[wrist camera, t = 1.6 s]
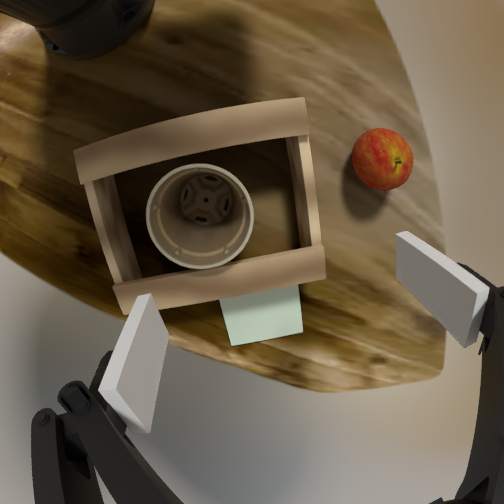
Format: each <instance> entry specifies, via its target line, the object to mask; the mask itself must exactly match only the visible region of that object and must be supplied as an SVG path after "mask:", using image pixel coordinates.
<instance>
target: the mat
mask: <svg viewBox="0 0 504 504" xmlns="http://www.w3.org/2000/svg"><path fill="white" fill-rule="evenodd" d="M219 301H220V305H221V308H222V312H223V316H224V320H225V324H226V327H227V331H228V335H229V338H230V342H231V346H234V345H240V344H245V343H251V342H256V341H262V340H267V339H272V338H277V337H282V336H287V335H291V334H296V333H300V332H303V327H302V317H301V307H300V298H299V289H298V284H297V285H292V286H287V287H282V288H277V289H272V290H267V291H262V292H257V293H252V294H247V295H241V296H236V297H230V298H225V299H219Z"/></svg>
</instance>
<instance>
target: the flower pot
mask: <svg viewBox="0 0 504 504" xmlns="http://www.w3.org/2000/svg"><path fill="white" fill-rule="evenodd" d="M206 176H213V177H215V178H216V181H213V180H208V179H205V177H206ZM187 190H188V193H187V197H186V199H184V195H185V191H187ZM205 198H207V199H208V201H207V202H204V199H205ZM226 199H229V200H228V202H229V204H228V209H227V210H224V206H225V203H226ZM197 217H202V218H206V219H207V221H206V222H202V221H200V220H197V219H196V218H197ZM146 223H147V228H148V232H149V235H150V237H151V239H152V241H153V242H154V244H155V246H156V247H157V248H158V249H159V251H160V252H161V253H162V254H163V255H164V256H166V257H167V258H168V259H169V260H171V261H173V262H174V263H177V264H179V265H181V266H184V267H187V268H194V269H208V268H213V267H218V266H220V265H223V264H225V263H227V262H229V261H230V260H232V259H233V258H235V257H236V256H237V255H238V254H239V253H240V252H241V251H242V250H243V248H244V247H245V245H246V244H247V242H248V240H249V238H250V235H251V233H252V229H253V223H254V210H253V205H252V201H251V198H250V196H249V193H248V192H247V190H246V188H245V187H244V185H243V184H242V183H241V182H240V181H239V180H238V179H237V178H236V177H235V176H234V175H233V174H231V173H230V172H228V171H226V170H224V169H222V168H220V167H217V166H214V165H210V164H189V165H185V166H181V167H179V168H176V169H174V170H172V171H171V172H169V173H168V174H166V175H165V176H164V177H163V178H162V179H161V180H159V182H158V183H157V184H156V185H155V187H154V189H153V190H152V192H151V194H150V196H149V199H148V202H147V207H146Z"/></svg>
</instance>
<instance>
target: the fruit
mask: <svg viewBox="0 0 504 504" xmlns="http://www.w3.org/2000/svg"><path fill="white" fill-rule="evenodd" d="M352 163H353V167H354V170H355V172H356V174H357V175H358V177H359V178H360V179H361V180H362V181H363V182H364V183H365V184H367V185H368V186H370V187H372V188H375V189H378V190H391V189H395V188H397V187H399V186H401V185H402V184H404V183H405V182H406V181H407V179H408V178H409V176H410V174H411V171H412V168H413V154H412V151H411V148H410V146H409V145H408V143H407V142H406V141H405V139H404V138H403V137H401V136H400V135H399V134H397V133H396V132H394V131H391V130H389V129H384V128H377V129H372V130H369V131H367V132H365V133H364V134H362V135H361V136H360V137H359V138H358V140H357V141H356V143H355V145H354V147H353V151H352Z"/></svg>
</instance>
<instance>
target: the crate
mask: <svg viewBox="0 0 504 504" xmlns="http://www.w3.org/2000/svg"><path fill="white" fill-rule="evenodd" d="M308 134H310V129H309V122H308V116H307V110H306V105H305V99H304V97H300V98H290V99H281V100H272V101H265V102H257V103H251V104H244V105H238V106H232V107H226V108H221V109H216V110H211V111H206V112H201V113H196V114H192V115H187V116H183V117H179V118H175V119H171V120H167V121H163V122H159V123H155V124H152V125H148V126H144V127H141V128H138V129H134V130H131V131H128V132H124V133H121V134H118V135H115V136H112V137H109V138H106V139H103V140H100V141H97V142H94V143H92V144H89V145H86V146H84V147H81V148H78V149H76V150H73V153H74V158H75V163H76V168H77V172H78V177H79V181H80V185H82V184H84V186H85V190H86V194H87V198H88V201H89V205H90V209H91V212H92V216H93V219H94V223H95V226H96V230H97V233H98V236H99V239H100V242H101V246H102V249H103V252H104V255H105V258H106V261H107V263H108V266H109V269H110V272H111V275H112V278H113V280H114V283H115V284H114V285H113V290H114V292H115V295H116V297H117V300H118V302H119V305H120V307H121V310H122V312H123V315H127V314H130V312H131V310H132V308H133V305H134V303H135V301H136V299H137V297H138V296H140V295H145V294H149V293H151V295H152V297H153V299H154V302H155V304H156V306H157V309H158V310H160V309H166V308H173V307H179V306H185V305H191V304H197V303H202V302H208V301H214V300H219V299H225V298H230V297H236V296H241V295H247V294H252V293H257V292H262V291H267V290H272V289H277V288H282V287H287V286H292V285H297V284H302V283H307V282H311V281H316V280H321V279H325V278H326V269H325V256H324V247H323V246H322V245H321V235H320V225H319V215H318V206H317V197H316V188H315V180H314V173H313V165H312V158H311V151H310V144H309V137H308ZM283 137H285V139H286V145H287V152H288V158H289V165H290V171H291V178H292V185H293V192H294V199H295V207H296V214H297V222H298V230H299V238H300V247H301V248H300V249H295V250H290V251H284V252H279V253H274V254H269V255H264V256H258V257H253V258H248V259H243V260H237V261H232V262H227V263H225V264H223V265H220V266H218V267H213V268H208V269H190V270H185V271H179V272H174V273H169V274H163V275H158V276H153V277H147V278H143V277H142V274H141V271H140V268H139V265H138V262H137V259H136V256H135V252H134V249H133V246H132V243H131V239H130V236H129V233H128V229H127V226H126V222H125V218H124V215H123V211H122V207H121V204H120V200H119V196H118V192H117V188H116V184H115V179H114V175H113V174H116V173H120V172H123V171H126V170H130V169H134V168H137V167H141V166H144V165H148V164H152V163H156V162H160V161H164V160H168V159H172V158H176V157H180V156H185V155H189V154H194V153H198V152H203V151H208V150H213V149H218V148H223V147H228V146H233V145H239V144H245V143H251V142H257V141H263V140H269V139H276V138H283Z"/></svg>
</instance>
